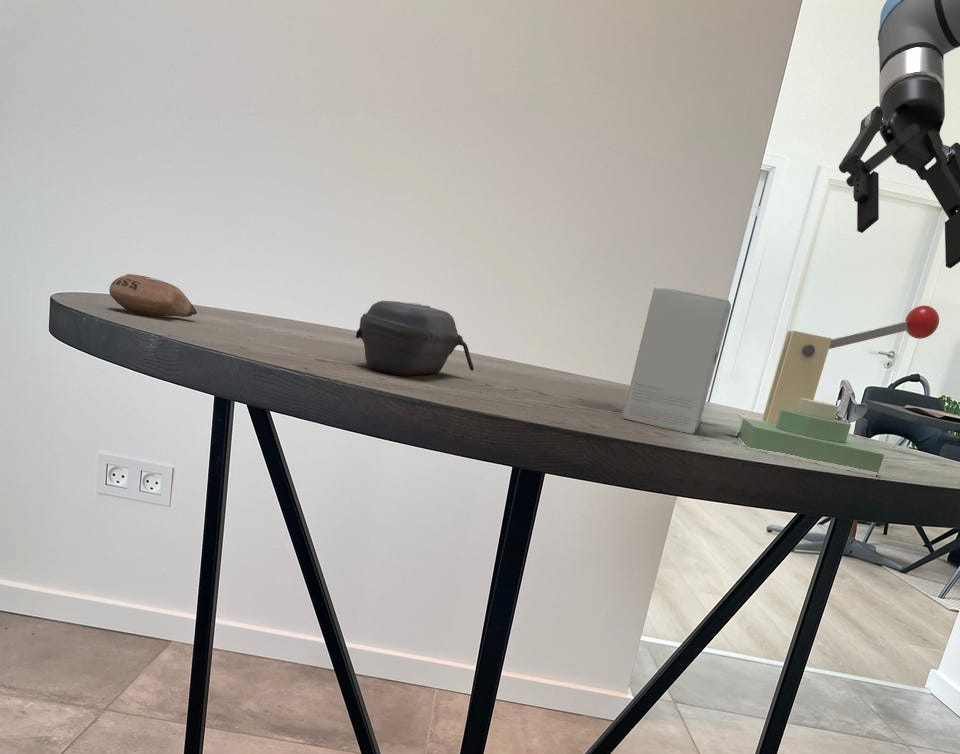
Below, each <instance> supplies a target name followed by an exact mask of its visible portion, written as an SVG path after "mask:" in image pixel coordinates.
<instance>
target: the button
mask: <svg viewBox="0 0 960 754" xmlns="http://www.w3.org/2000/svg"><path fill="white" fill-rule="evenodd" d="M839 408H840V406H839V405H837V404H832V403H828V402H824V401H819V400H815V399H814V400H810V399H805V398H801V399H800V403H799V406H798V410H797V413H800V414H804V415H808V416H812V417H817V418H821V419H826V420H832V421H835V419H836V417H837V415H838V411H839Z"/></svg>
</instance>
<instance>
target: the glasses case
mask: <svg viewBox="0 0 960 754" xmlns="http://www.w3.org/2000/svg"><path fill="white" fill-rule="evenodd" d="M355 338H356V339H361V340H362V342H363V347H364V357H365V362H366V366H368V368H369V369H370V370H373V371H376V372H379V373H384V374H389V375H395V376H399V377H402V376H403V377H406V376H420V375H421V376H422V375H432V374H438V373H439V372H440V371H442V369H443V368H444V366H445V364H446V362H447V360H448V358H449V357H450V355H451V354H452V353H453V352H454V351H455V349H456V347H457V346H462V348H463V351H464V355H465V358H466V361H467V364H468V367H469V370H470V371H472V372H474V370H475V368H474V364H473V360H472V357H471V355H470V350H469V346H468V344H467V343H466V342H465V340H464V338H463V336H462V335H460V334H459V333H458V329H457V326H456V321H455V319H454V317H453V316H452V314H451V313H449V312H448V311H446V310H441V309H438V308H435V307H431V306H429V305H427V304H425V303H417V302H409V301H393V300H379V301H377V302H375V303H373V304H372V305H371V306H370V308H369V309H368V311H367V312H366V313H363V314H362V316H361V317H360V319H359V328H358V329H357V330H356V334H355Z"/></svg>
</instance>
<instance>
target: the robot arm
mask: <svg viewBox="0 0 960 754" xmlns="http://www.w3.org/2000/svg"><path fill="white" fill-rule="evenodd" d="M877 33H878V34H877V41H878V42H877V43H878V44H877V46H878V58H879V59H878V60H879V61H878V62H879V78H878V80H879V81H878V82H879V83H878V87H879V88H878V94H879V95H878V101H879V105H877V106H875V107H874V108H873V109H872V110H870V112H869V113H868V114H867V115H866V116H865V117H864V118H863V119H862V120H860V128H859V133H858V135H857V136H856V138H855V139H854V141H853V143H852V144H851V146H850V147H849V149H848V150H847V152H846V154H845V155H844V156H843V158H842V159H841V162H840V163H839V165H838V170H839V172H840V173H842V174H849V176H848V177H847V178H846V180H845V181H846V184H847V186H848V187H850V188H853V194H852V195H853V197H852V198H853V200H854V202H856V231H857V232H858V233H861V234H863V233H864V232H865V231H867V230H868V229H869V228H870V227H872V226H873V225H874V224H875V223H877V222H878V221H879V220H880V219H879V218H880V217H879V216H880V210H879V209H880V207H879V206H880V204H879V203H880V200H879V199H880V193H879V192H880V191H879V190H880V187H879V185H880V183H879V182H880V181H879V180H880V179H879V178H880V177H879V172H877V171H875V169H876V168H878V167H879V166H880V165H882V164H884V162H886V161H887V160H888V159H890V158H891V157H892V158H893V159H894V160H895V163H896V164H898V165H902V166H906V167H908V168H909V169H910V170H912V171H915V173H916V174H917V176H918V178H919V179H920V180H921V181H926V184H927V185H928V187H929V188H930V190H931V191H932V193H933V195H934V197H935V198H936V200H937V202H938V204H939V205H940V207H941V208H942V211H944V213H945V215H946V216H947V218H948V219H947V220H946V221H944V249H945V250H944V251H945V253H944V254H945V255H944V256H945V257H944V258H945V267H946V268H948V269H952V268H953V267H955V266H956V265H957V264H959V263H960V142H957V141H956V142H954V143H953V144H952V145H950V146H949V145H946V144H944V143H943V139H942V137H941V134H940V133H941V129H942V127H943V124H944V121H945V116H946V106H945V105H946V104H945V103H946V102H945V61H944V59H945V58H944V56H945V55H946V54H948V53H950V52H951V51H954V50H955V49H958V48H960V0H886V1H885V3H884V5H883V6H882V8H881V11H880V17H879V28H878V31H877ZM878 133H879V135H880V136H881V138H882V140H883V142H884V143H885V145H884V146H883V147H882V148H881V149H879V150H878V151H877V152H875V153H874V154H873V155H872V156H870V157H869V158H868V159H867V160H865V161H864V160H862V158H863V156H864V154H865V152H866V151H867V149H868V148H869V146H870V144H871V143H872V142H873V140H874V138H875V137H876V135H877V134H878ZM934 159H935V162H934V163H933V164H932V165H931V166H930V167H928V168H926V166H927V165H928V164H930V163H931V162H932V161H933V160H934Z"/></svg>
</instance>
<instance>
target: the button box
mask: <svg viewBox="0 0 960 754" xmlns="http://www.w3.org/2000/svg"><path fill="white" fill-rule="evenodd" d="M851 426H852V424H851V423H849V422H847V421H843V420H839V419H836V418H835V421H832V420H826V419H821V418H817V417H812V416H808V415H804V414H800V413H797V411H794V410H789V409H780V413H779V416H778V420H777V423H776V424H771V423H766V422H761V421H757V420H752V419H747V418H743V420H741V424H740V428H739V432H738V435H737V438H738V437H739V438H740V439H741V440H742V442H744V444H745V445H746V446H747V447H750V448H756V449H763V450H767V451H773V452H780V453H785V454H790V455H795V456H799V457H803V458H807V459H812V460H817V461H823V462H828V463H834V464H838V465H843V466H849V467H854V468H858V469H863V470H868V471H873V472H878V473H879V471H880V469H881V466H882V464H883V463H882V462H883V460H884V457H885V454H884V453H883V452H881V451H879V450H876V449H874V448H872V447H870V446H869V445H867V444H865V443H862V442H861V441H855V440H851V439H848V436H849V433H850V429H851Z"/></svg>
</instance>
